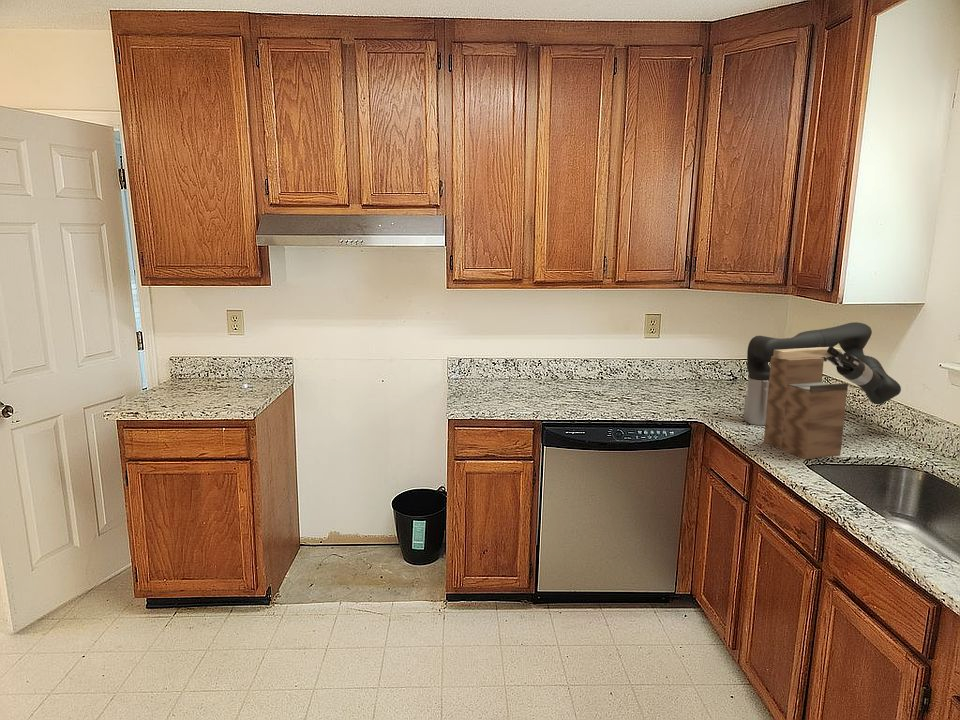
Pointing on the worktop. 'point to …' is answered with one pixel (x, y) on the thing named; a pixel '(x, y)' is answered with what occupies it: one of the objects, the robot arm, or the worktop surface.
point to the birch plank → (802, 353)
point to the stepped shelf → (804, 409)
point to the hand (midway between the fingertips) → (823, 348)
